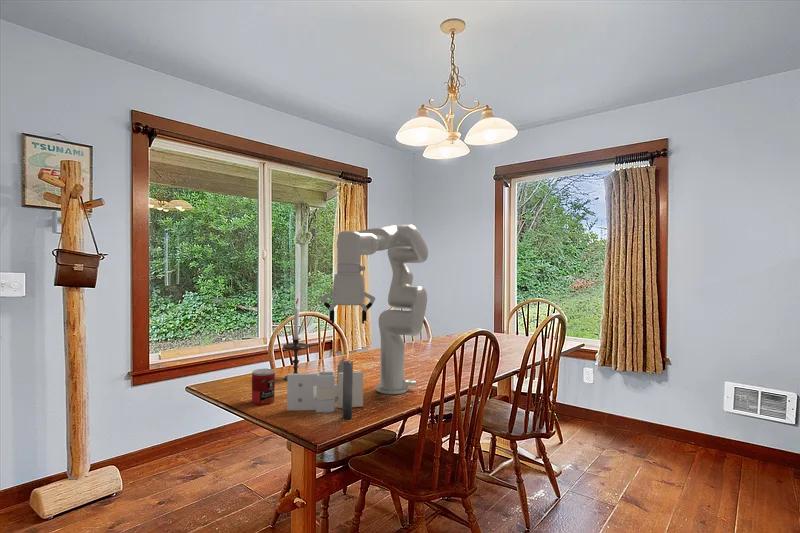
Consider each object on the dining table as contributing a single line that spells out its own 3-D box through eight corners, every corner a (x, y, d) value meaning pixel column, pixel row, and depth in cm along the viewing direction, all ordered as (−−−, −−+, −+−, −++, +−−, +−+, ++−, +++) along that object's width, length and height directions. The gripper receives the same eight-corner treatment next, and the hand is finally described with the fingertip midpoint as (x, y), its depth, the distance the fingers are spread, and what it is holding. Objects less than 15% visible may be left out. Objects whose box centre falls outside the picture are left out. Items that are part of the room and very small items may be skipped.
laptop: (313, 387, 171) (313, 355, 171) (344, 387, 171) (344, 355, 171) (303, 401, 153) (303, 365, 153) (338, 402, 153) (338, 365, 153)
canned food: (262, 407, 145) (262, 374, 145) (246, 402, 149) (247, 371, 149) (279, 401, 152) (279, 370, 152) (264, 397, 156) (264, 367, 156)
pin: (351, 416, 137) (352, 360, 137) (351, 419, 134) (352, 362, 134) (342, 416, 137) (343, 360, 137) (342, 419, 134) (343, 363, 134)
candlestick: (313, 377, 184) (315, 297, 184) (295, 383, 175) (296, 298, 175) (295, 374, 190) (297, 296, 190) (277, 379, 180) (278, 297, 180)
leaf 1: (334, 406, 147) (335, 371, 147) (333, 411, 141) (334, 375, 141) (288, 407, 145) (289, 372, 146) (285, 412, 140) (286, 376, 140)
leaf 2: (361, 403, 150) (361, 370, 150) (363, 408, 144) (364, 374, 144) (316, 406, 146) (316, 372, 146) (317, 411, 140) (317, 376, 140)
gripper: (375, 270, 141) (374, 321, 141) (322, 269, 139) (321, 321, 139) (376, 270, 133) (375, 324, 133) (320, 269, 131) (319, 324, 131)
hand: (347, 323), depth 136 cm, fingers open, 9 cm apart
